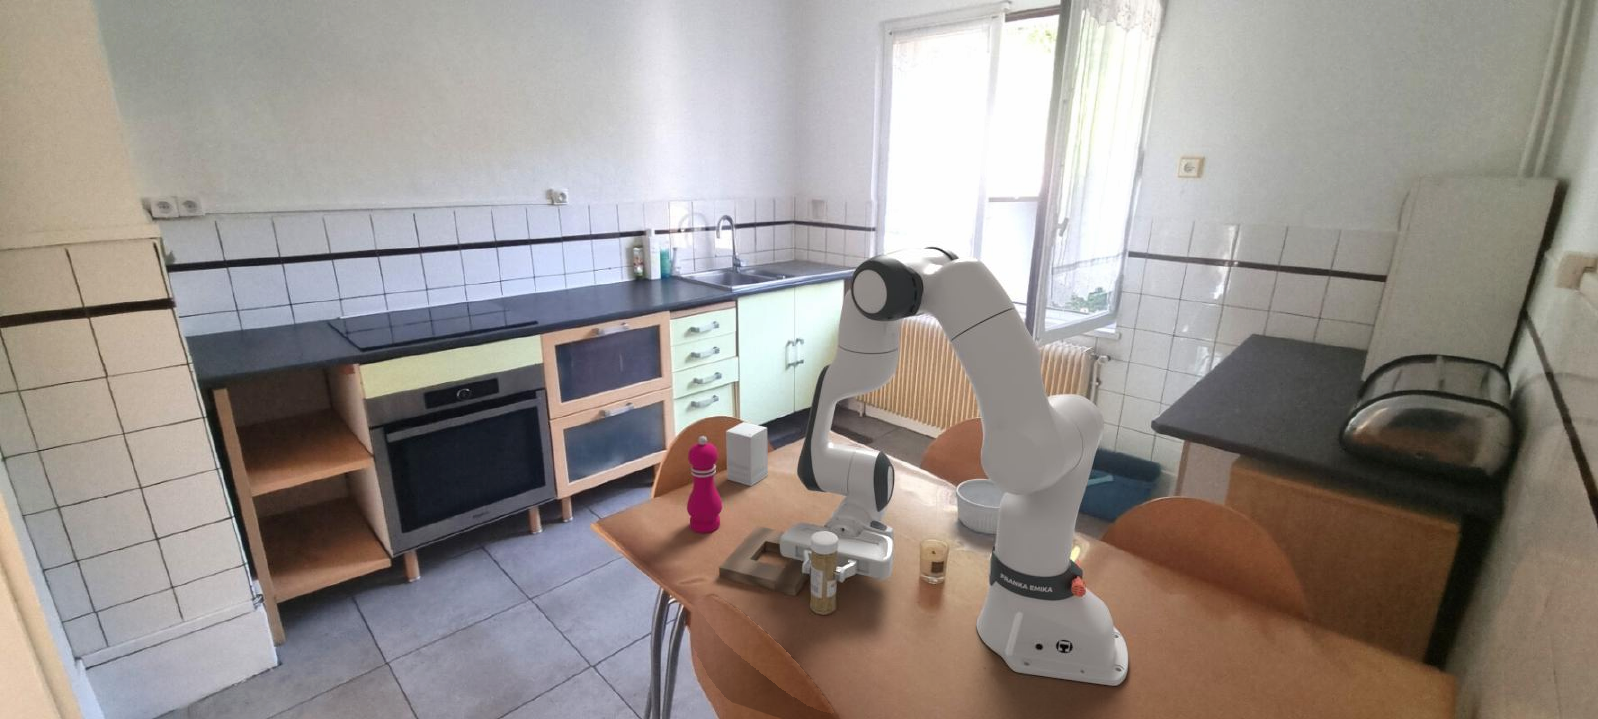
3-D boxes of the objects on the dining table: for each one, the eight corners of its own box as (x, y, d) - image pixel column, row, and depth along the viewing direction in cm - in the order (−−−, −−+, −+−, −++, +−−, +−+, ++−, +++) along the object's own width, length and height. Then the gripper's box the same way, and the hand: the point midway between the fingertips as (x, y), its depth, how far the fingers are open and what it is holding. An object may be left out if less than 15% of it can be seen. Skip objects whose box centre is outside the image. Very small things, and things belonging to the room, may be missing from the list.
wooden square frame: (826, 550, 131) (826, 541, 130) (795, 596, 116) (795, 586, 116) (757, 534, 136) (757, 525, 136) (719, 576, 122) (719, 567, 121)
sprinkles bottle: (839, 613, 112) (841, 542, 108) (813, 617, 111) (814, 545, 107) (832, 597, 116) (834, 528, 113) (806, 600, 115) (807, 531, 112)
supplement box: (768, 475, 163) (768, 427, 159) (750, 487, 157) (750, 437, 153) (744, 468, 166) (743, 421, 163) (725, 479, 160) (724, 430, 157)
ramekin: (955, 534, 137) (958, 504, 135) (952, 504, 150) (954, 476, 148) (1022, 540, 135) (1025, 509, 133) (1013, 509, 148) (1016, 481, 146)
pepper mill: (716, 536, 135) (713, 445, 130) (682, 532, 137) (678, 441, 131) (727, 519, 142) (725, 431, 137) (694, 515, 143) (691, 428, 138)
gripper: (795, 507, 126) (765, 543, 114) (902, 529, 119) (881, 570, 106) (795, 537, 128) (765, 576, 115) (900, 560, 121) (879, 604, 108)
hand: (822, 573), depth 111 cm, fingers closed on sprinkles bottle, 4 cm apart
